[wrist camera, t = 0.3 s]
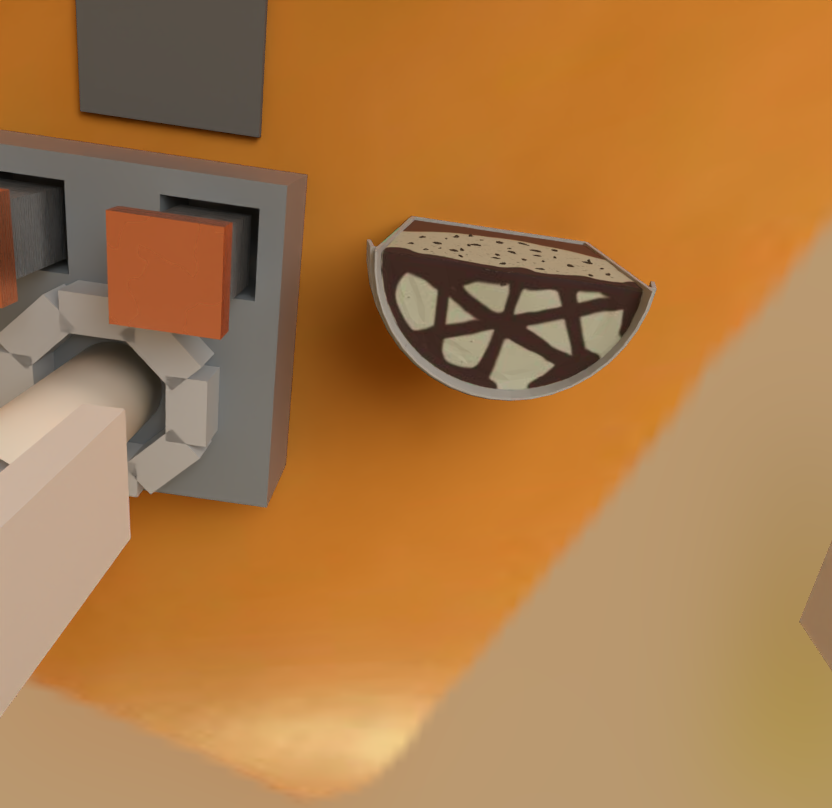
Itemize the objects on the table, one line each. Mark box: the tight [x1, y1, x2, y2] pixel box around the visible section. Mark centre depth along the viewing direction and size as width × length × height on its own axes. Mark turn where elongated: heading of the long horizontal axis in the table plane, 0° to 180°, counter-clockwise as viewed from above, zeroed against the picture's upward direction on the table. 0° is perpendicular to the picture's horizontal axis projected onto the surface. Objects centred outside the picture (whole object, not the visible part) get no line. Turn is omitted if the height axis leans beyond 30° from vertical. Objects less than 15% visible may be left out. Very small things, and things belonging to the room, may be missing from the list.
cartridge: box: [0, 342, 162, 472], centre depth 31 cm, size 5×5×14 cm
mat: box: [76, 0, 268, 137], centre depth 35 cm, size 9×9×1 cm
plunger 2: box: [106, 204, 252, 340], centre depth 32 cm, size 5×5×7 cm
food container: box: [367, 216, 656, 401], centre depth 35 cm, size 12×6×10 cm, turn 82°
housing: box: [0, 130, 307, 507], centre depth 38 cm, size 17×16×7 cm
